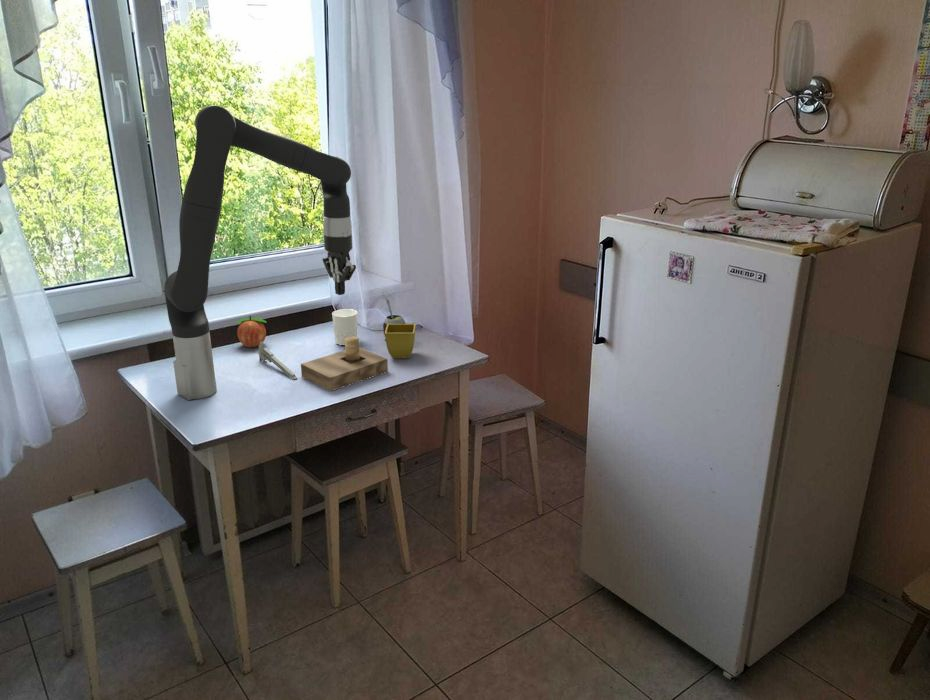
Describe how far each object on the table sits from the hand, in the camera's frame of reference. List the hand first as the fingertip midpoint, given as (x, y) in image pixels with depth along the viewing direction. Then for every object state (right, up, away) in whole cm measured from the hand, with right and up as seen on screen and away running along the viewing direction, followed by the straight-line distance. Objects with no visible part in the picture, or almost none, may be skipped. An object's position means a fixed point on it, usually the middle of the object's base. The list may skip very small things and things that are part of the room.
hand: (340, 294), depth 210 cm
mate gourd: (+12, -13, +32) cm, 37 cm away
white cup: (-3, -13, +30) cm, 33 cm away
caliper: (-20, -22, +9) cm, 31 cm away
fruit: (-32, -14, +27) cm, 44 cm away
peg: (+2, -22, +8) cm, 23 cm away
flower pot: (+15, -18, +20) cm, 31 cm away
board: (0, -23, +6) cm, 23 cm away
